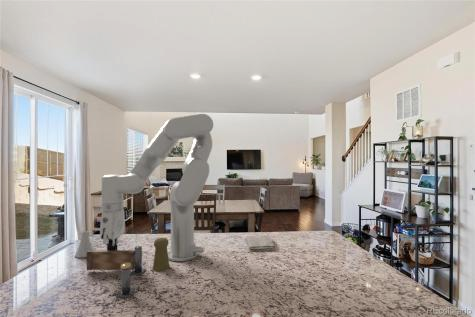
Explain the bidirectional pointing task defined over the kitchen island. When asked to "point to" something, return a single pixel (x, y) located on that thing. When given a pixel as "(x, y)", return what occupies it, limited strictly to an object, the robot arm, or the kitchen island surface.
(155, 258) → the olive rounded lobed piece
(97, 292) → the kitchen island surface
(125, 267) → the grey upright posts
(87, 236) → the flask
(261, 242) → the washcloth
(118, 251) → the brown wooden plank
